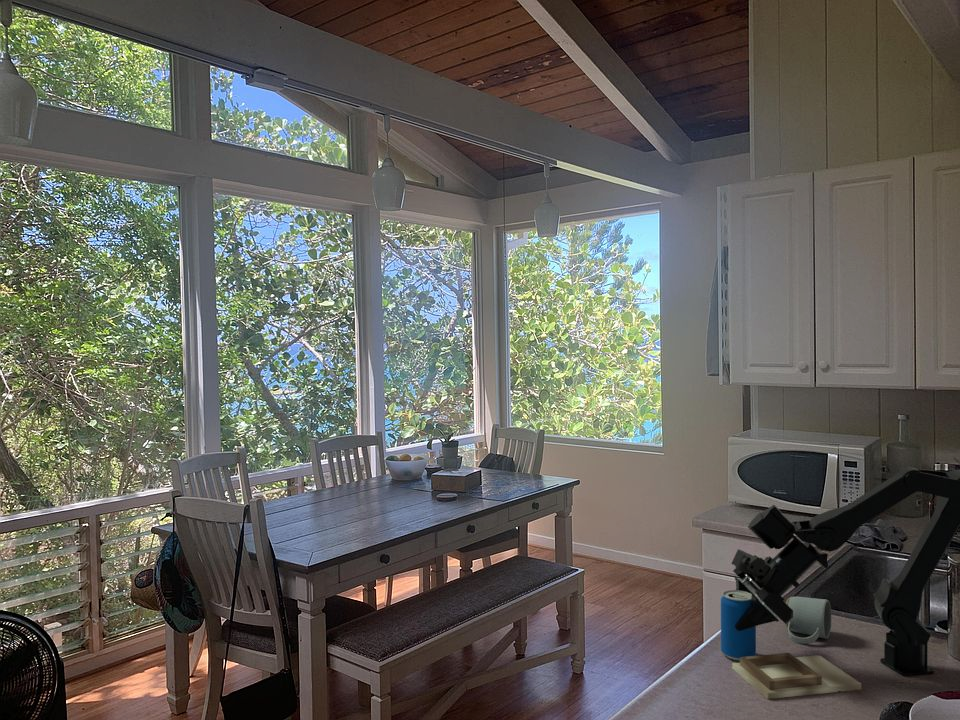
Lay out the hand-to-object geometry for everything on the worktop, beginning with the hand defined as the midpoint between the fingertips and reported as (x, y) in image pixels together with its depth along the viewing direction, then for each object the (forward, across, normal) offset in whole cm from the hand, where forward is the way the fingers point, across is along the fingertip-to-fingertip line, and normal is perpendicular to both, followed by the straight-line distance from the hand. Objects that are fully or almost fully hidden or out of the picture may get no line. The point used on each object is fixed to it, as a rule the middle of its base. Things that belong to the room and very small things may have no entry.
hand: (730, 622), depth 144 cm
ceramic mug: (-8, -10, +18) cm, 22 cm away
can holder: (-1, +10, +11) cm, 14 cm away
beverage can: (+4, 0, +6) cm, 7 cm away
